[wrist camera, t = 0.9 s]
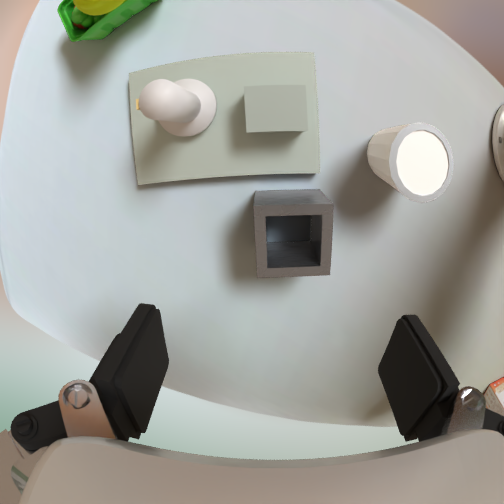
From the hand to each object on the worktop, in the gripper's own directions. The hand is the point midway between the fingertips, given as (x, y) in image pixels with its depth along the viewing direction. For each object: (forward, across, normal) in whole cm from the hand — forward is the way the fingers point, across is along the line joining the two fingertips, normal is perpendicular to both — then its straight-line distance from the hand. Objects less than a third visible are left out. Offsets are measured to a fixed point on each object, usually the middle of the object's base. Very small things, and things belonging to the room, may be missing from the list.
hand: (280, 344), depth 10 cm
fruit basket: (+20, +17, -24) cm, 35 cm away
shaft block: (+20, +5, -9) cm, 22 cm away
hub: (+20, -2, +1) cm, 20 cm away
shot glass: (+20, -12, -7) cm, 24 cm away
